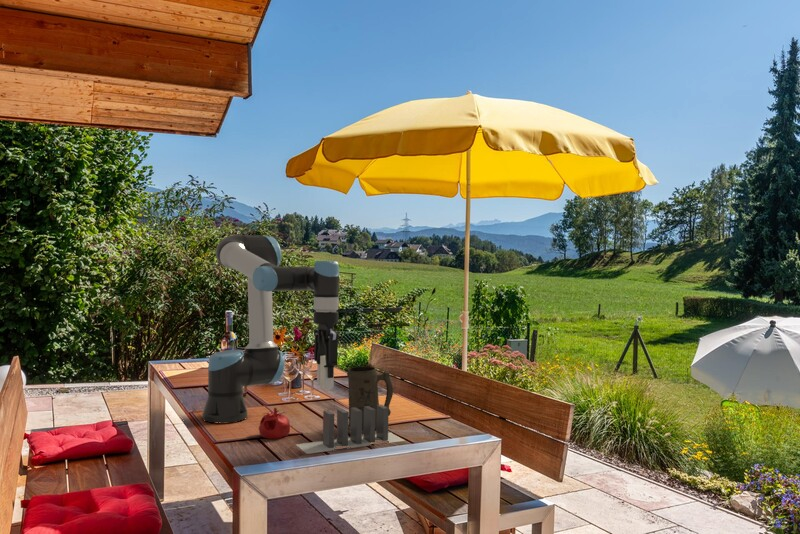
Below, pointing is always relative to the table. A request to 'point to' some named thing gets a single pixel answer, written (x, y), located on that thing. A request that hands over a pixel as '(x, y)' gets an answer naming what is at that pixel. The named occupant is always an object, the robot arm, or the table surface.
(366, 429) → the domino
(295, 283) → the robot arm
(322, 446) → the mat
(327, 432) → the domino
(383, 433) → the domino
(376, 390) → the beer stein
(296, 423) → the table surface
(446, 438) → the table surface
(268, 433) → the pomegranate
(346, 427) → the domino
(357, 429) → the domino
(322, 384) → the domino
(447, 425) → the table surface
